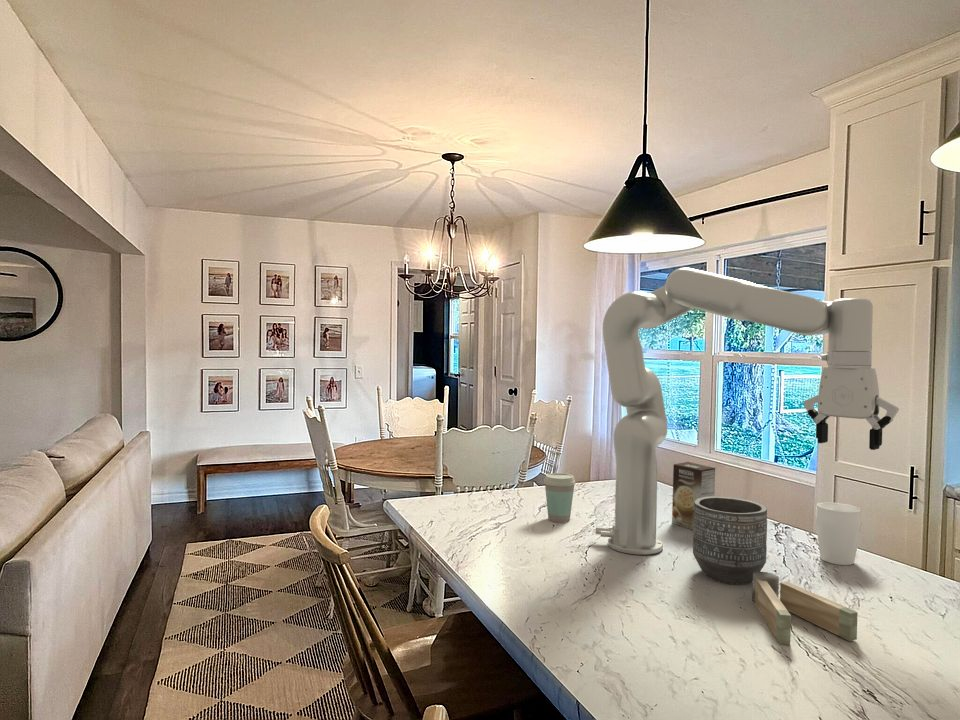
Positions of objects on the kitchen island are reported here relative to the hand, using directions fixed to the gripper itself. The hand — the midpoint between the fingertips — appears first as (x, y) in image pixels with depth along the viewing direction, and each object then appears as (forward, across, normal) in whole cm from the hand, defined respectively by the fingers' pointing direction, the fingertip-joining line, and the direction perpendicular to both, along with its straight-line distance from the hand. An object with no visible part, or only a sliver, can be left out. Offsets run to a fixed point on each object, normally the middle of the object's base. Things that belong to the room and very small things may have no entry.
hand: (847, 445), depth 127 cm
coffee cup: (+28, -67, -14) cm, 74 cm away
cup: (+28, -7, +14) cm, 32 cm away
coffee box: (+28, -42, +11) cm, 52 cm away
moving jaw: (+28, +5, -24) cm, 37 cm away
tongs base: (+28, 0, -28) cm, 39 cm away
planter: (+28, -17, -15) cm, 36 cm away
